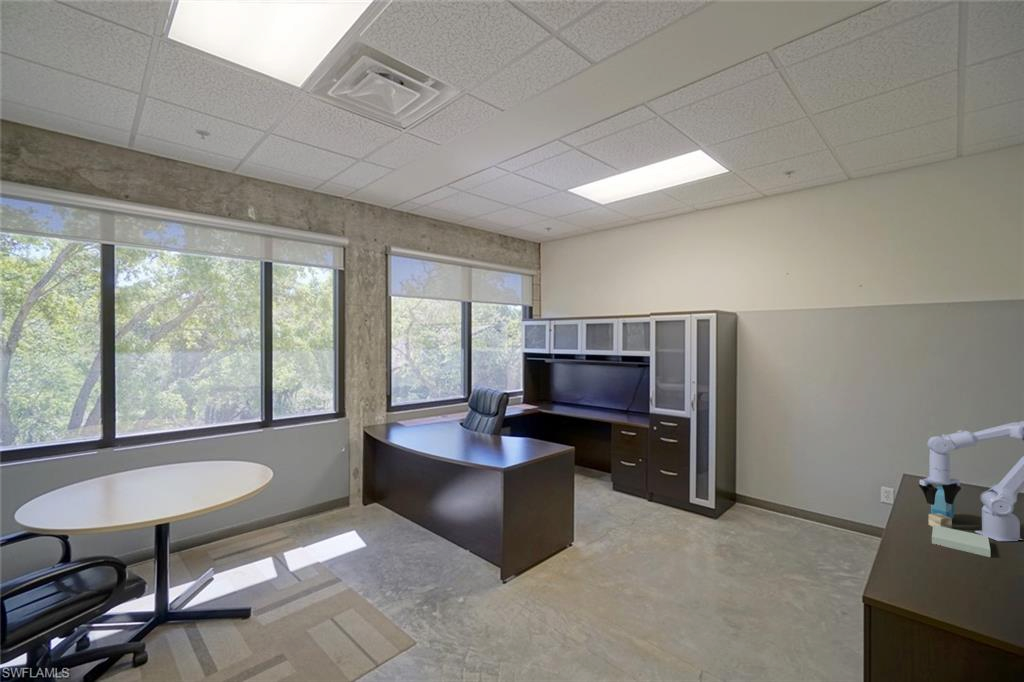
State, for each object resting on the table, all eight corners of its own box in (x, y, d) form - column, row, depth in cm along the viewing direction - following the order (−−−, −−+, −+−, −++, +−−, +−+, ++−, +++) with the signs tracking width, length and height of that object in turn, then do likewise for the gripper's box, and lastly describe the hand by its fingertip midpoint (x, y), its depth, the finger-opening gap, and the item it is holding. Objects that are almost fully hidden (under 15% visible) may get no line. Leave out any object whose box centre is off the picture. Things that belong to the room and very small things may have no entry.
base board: (933, 531, 164) (933, 524, 164) (988, 543, 154) (988, 536, 154) (931, 543, 154) (931, 536, 154) (990, 557, 144) (990, 549, 144)
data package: (946, 524, 170) (946, 494, 170) (931, 521, 173) (930, 491, 173) (954, 517, 176) (954, 488, 176) (939, 514, 180) (938, 485, 180)
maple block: (939, 525, 170) (939, 513, 170) (951, 530, 165) (951, 518, 165) (928, 525, 169) (928, 513, 169) (940, 530, 165) (940, 518, 165)
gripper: (946, 465, 172) (946, 499, 172) (911, 465, 171) (911, 500, 171) (965, 470, 165) (966, 506, 165) (930, 471, 164) (930, 507, 164)
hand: (939, 503), depth 167 cm, fingers open, 7 cm apart
